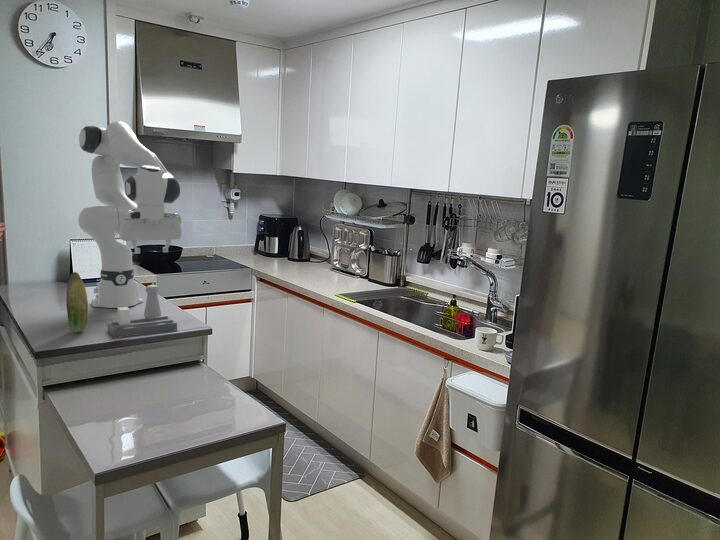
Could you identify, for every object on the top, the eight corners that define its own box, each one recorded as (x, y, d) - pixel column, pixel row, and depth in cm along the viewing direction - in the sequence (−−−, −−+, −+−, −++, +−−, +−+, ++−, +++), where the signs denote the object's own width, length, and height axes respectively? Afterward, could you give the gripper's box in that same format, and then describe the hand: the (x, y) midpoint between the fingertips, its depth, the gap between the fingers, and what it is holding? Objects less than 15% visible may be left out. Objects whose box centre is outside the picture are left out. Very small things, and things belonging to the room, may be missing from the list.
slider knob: (117, 323, 178) (117, 307, 177) (127, 322, 179) (127, 306, 178) (120, 326, 174) (120, 310, 173) (130, 325, 176) (130, 309, 175)
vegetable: (92, 330, 178) (89, 271, 175) (84, 335, 172) (82, 274, 169) (72, 330, 177) (70, 270, 174) (64, 335, 171) (61, 274, 168)
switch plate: (108, 330, 178) (107, 321, 178) (169, 323, 190) (168, 314, 190) (114, 337, 171) (113, 327, 171) (177, 329, 183) (176, 320, 183)
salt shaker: (155, 323, 189) (154, 287, 187) (140, 322, 190) (139, 286, 188) (164, 319, 194) (163, 284, 192) (150, 318, 196) (149, 283, 193)
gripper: (178, 212, 194) (178, 250, 197) (117, 212, 182) (119, 252, 185) (183, 214, 189) (184, 252, 192) (122, 214, 177) (123, 255, 180)
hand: (151, 252), depth 188 cm, fingers open, 8 cm apart
